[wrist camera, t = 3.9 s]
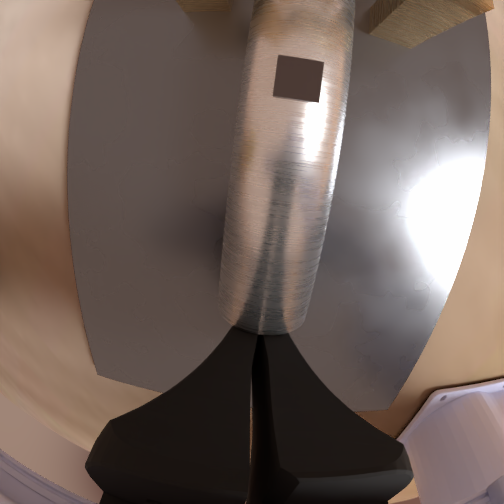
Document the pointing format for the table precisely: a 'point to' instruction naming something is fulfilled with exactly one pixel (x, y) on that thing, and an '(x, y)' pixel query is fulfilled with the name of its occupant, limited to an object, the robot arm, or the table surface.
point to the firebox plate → (218, 174)
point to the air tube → (284, 160)
